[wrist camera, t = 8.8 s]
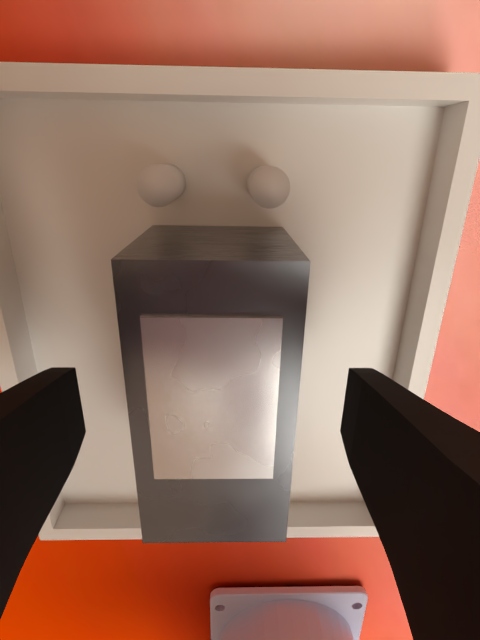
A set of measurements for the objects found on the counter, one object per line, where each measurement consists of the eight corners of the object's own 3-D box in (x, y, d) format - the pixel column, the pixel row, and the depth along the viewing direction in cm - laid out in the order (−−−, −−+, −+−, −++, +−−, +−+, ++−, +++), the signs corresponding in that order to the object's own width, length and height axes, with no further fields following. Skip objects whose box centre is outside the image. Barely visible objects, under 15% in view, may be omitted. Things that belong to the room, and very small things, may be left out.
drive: (270, 436, 15) (286, 544, 11) (167, 436, 15) (141, 546, 11) (282, 226, 12) (311, 262, 8) (152, 224, 12) (109, 260, 8)
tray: (373, 493, 18) (400, 555, 15) (62, 495, 17) (30, 559, 14) (451, 89, 12) (521, 65, 9) (-26, 78, 11) (-112, 50, 8)
